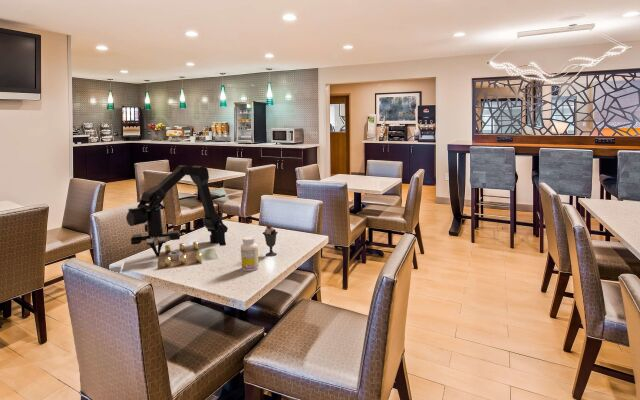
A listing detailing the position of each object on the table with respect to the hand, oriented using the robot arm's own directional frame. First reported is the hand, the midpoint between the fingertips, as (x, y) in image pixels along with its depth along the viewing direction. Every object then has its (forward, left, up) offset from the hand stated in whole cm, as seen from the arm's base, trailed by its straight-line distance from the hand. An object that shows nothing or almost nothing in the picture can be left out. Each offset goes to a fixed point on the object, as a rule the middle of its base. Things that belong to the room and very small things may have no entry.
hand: (157, 256), depth 169 cm
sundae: (-47, +8, -3) cm, 48 cm away
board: (-11, 0, -3) cm, 11 cm away
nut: (-7, 0, -2) cm, 7 cm away
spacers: (-10, 0, -2) cm, 10 cm away
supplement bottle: (-35, +22, -3) cm, 41 cm away
